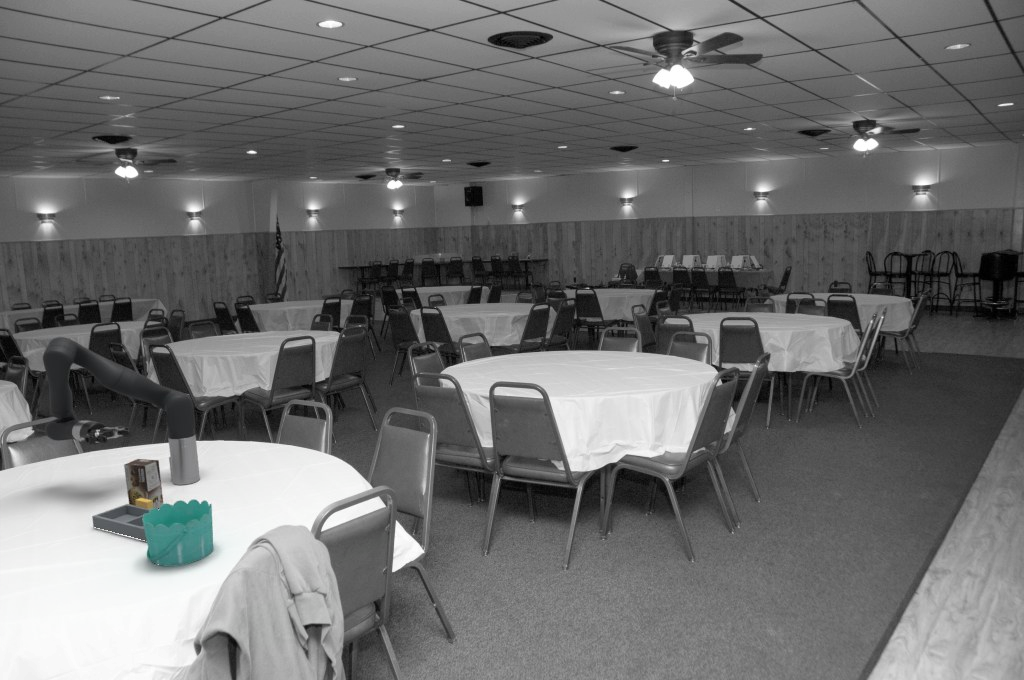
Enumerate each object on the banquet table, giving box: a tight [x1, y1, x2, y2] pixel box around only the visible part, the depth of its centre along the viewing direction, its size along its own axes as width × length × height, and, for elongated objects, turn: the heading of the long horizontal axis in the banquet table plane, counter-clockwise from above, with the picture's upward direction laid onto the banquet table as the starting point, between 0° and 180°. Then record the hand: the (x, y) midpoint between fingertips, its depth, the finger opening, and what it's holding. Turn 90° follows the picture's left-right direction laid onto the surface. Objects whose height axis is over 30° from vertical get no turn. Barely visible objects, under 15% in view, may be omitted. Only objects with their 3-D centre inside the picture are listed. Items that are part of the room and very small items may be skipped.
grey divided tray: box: [91, 498, 174, 541], centre depth 244 cm, size 30×14×6 cm, turn 60°
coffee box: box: [123, 458, 164, 510], centre depth 261 cm, size 9×6×16 cm
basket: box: [142, 499, 214, 567], centre depth 223 cm, size 19×18×13 cm
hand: (118, 436), depth 265 cm, fingers open, 8 cm apart
